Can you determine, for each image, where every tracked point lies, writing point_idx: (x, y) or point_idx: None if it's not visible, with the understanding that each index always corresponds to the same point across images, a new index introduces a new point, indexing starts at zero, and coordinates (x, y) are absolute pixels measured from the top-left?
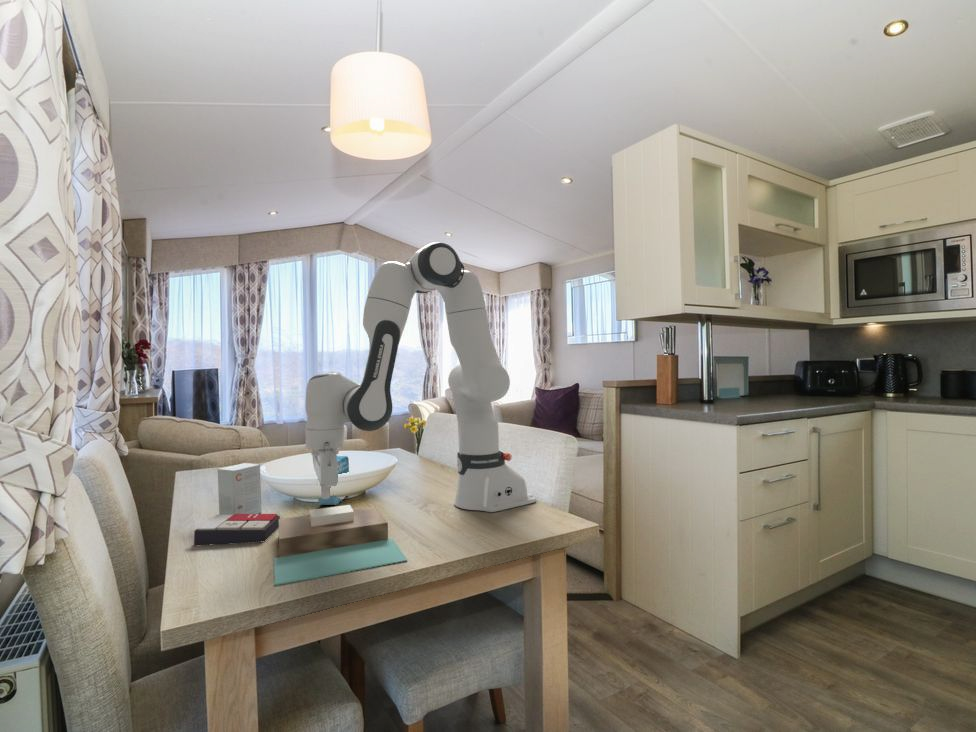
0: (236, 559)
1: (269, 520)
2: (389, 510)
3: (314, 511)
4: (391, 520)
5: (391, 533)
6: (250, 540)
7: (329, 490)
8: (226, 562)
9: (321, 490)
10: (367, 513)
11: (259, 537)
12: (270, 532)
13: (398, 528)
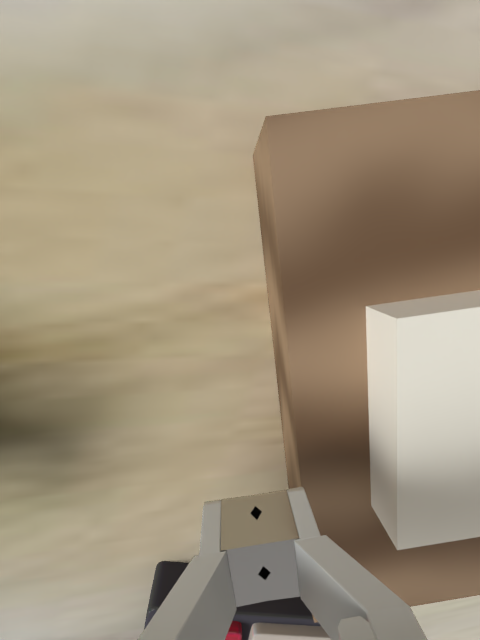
0: (449, 609)
1: (240, 635)
2: (29, 39)
3: (443, 522)
4: (248, 54)
5: (464, 85)
6: None
7: (335, 544)
8: (459, 625)
9: (264, 600)
10: (424, 192)
11: None
12: None
13: (405, 31)
